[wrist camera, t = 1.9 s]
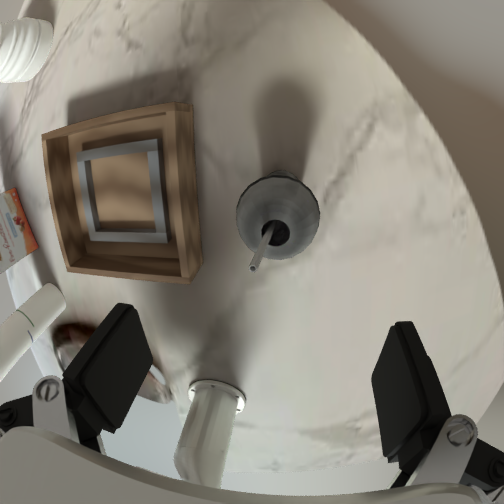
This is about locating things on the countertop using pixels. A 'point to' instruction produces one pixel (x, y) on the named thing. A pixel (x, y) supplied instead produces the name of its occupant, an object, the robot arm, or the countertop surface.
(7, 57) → the honey pot
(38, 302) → the cylindrical container
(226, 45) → the countertop surface
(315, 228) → the beverage cup
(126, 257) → the walled box
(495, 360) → the countertop surface
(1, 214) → the cracker box
